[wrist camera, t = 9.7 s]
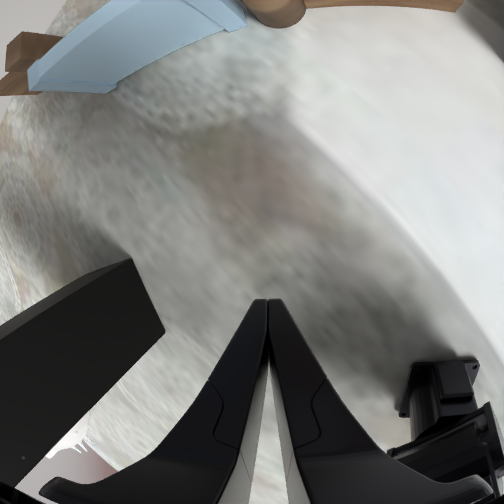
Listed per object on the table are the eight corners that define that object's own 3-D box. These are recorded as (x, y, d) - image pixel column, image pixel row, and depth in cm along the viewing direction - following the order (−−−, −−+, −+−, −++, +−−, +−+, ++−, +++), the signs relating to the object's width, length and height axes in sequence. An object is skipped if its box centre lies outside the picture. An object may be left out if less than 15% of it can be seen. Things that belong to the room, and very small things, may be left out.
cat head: (36, 338, 40) (-16, 377, 29) (90, 367, 36) (32, 421, 25) (63, 402, 45) (23, 440, 34) (115, 433, 42) (74, 481, 31)
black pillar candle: (116, 337, 32) (-61, 498, 7) (85, 273, 30) (-124, 415, 5) (167, 331, 29) (-40, 546, 4) (132, 256, 27) (-133, 442, 2)
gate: (241, 6, 17) (185, -46, 10) (247, 25, 17) (191, -24, 10) (102, 76, 22) (27, 69, 14) (105, 93, 22) (29, 91, 15)
